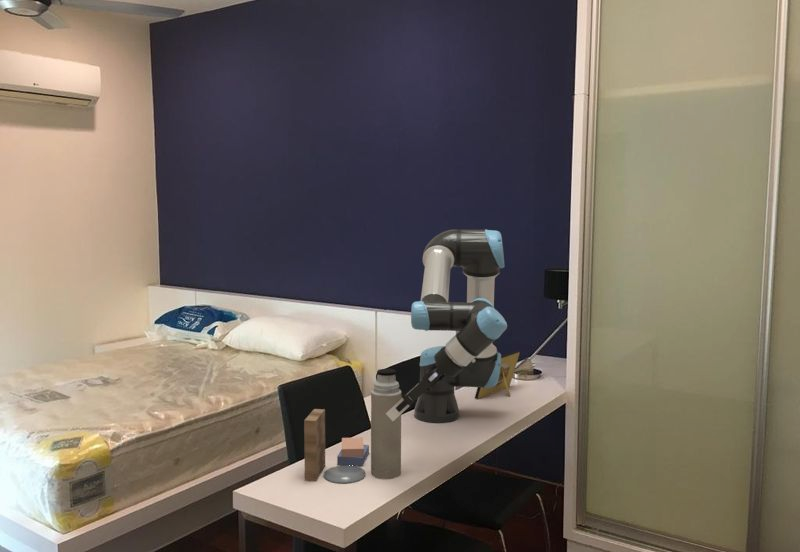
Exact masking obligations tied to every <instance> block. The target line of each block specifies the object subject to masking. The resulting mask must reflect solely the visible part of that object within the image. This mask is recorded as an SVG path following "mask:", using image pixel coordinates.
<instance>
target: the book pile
mask: <svg viewBox="0 0 800 552" xmlns="http://www.w3.org/2000/svg"><path fill="white" fill-rule="evenodd" d="M369 454H370V445H369V444H364V437H342V438H341V449H340V451H339V453H338V454H337V456H336V458H337V460H336V461H337V462H336V463H337V464H336V466H343V465H350V466H352V465H353V466H356V467H361V466H364V465H363V464H365V462H366V460H367V458H368V456H369Z"/></svg>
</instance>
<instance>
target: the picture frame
mask: <svg viewBox="0 0 800 552" xmlns="http://www.w3.org/2000/svg"><path fill="white" fill-rule="evenodd" d="M520 353H521V351H518V350H517V351H514V352H511V353H507V354H504V355H501V366H500V374H499V379H498V382H497V384H496V386H494V387H485V388H482V387H476V388H477V389H476V392H475V395H474V399H476V400H479V399H480V400H481V399H482V398H485V397H487V396H490V395H492V394H495V393H497V392H499V391H501V390H502V391H503V390H505V389H506V392H507V394H508V396H509V398H510V397H511V393H510V389H509V388H510V386H511V382H512V380H513V376H514V373H515V370H516V367H517V363H518V360H519V356H520Z"/></svg>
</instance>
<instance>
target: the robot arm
mask: <svg viewBox="0 0 800 552" xmlns="http://www.w3.org/2000/svg"><path fill="white" fill-rule="evenodd" d="M422 264H423V266H424V272H423V281H422V287H421V294H420V295H421V296H420V300H419V301H414V302H413V303H412V304H411V311H410V324H411V327H412V329H413V330H419V331H425V332H428V331H449V332H450V331H451V332H452V331H454V332H458V333H456V334H455V335H454V336H453V337H451V338H450V339H449V340H448V341H447V342H446V343H445V345H440V346H433V347H428V348H426V349H424V350H423V351H421V353H420V359H419V382H418V383H417V384H416V385H415V386H414V387H412V389H410V390H409V391H408V392H407V393H406V394H404V393H401V400H400V401H398V402H397V403H396V404H395V405H394V406H393V407H392V408H391V409H390V410H389V411H388V412H387V413H386V415H387V416H388V417H389V418H390V419H391V420H392V421H394V420H395V419H396V418H397V417H398V416H400V415H401V416H402V414H403V413H404V412H405V411H406V410H407V409H408V408H410V406H412V405H413V403H414V402H415V401H416V400H417V401H416V402H415V407H414V411H413V413H414V417H415V418H416V419H417V420H420V421H423V422H427V423H435V424H436V423H440V424H441V423H450V422H453V421H456V420H457V419H459V418H460V408H459V404H458V401H457V399H456V395H455V387H462V388H465V387H466V388H478V387H482V388H485V387H494V386H496V384H497V382H498V379H499V374H500V366H501V356H502V354H501V353H500V352H499V351H498V349H497V347H496V345H494V344H493V343H494V342H495V341H496V340H498V339H499V338H500V337H501V335H502V334H503V333H504V332H505V331H506V330H507V328H508V324H507V321H506V320H505V317H503V315H502V314H501V313H500V311H498V310H497V309H496V308H495V302H494V301H495V283H496V282H495V281H496V280H495V279H496V277H497V276H498V275H500V273H501V272H500V271H501V270H500V269H504V268H505V256H504V246H503V237H502V233H501V232H500V231H498V230H492V229H491V230H490V229H486V228H485V229H449V230H448V229H447V230H445V231H442V232H440V233H439V234H437V235H436V236H434V237H433V238H432V239H431V240H430V241H429V242H428V243H427V245H426V246H425V248H424V250H423V254H422ZM453 267H454V268H462V273H463V275H465V277H467V281H466V282H467V284H466V287H467V288H466V289H467V290H466V302H461V301H460V302H458V301H457V302H456V301H455V302H454V301H449V296H450V295H449V294H450V279H451V278H450V276H451V269H452V268H453Z"/></svg>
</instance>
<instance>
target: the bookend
mask: <svg viewBox="0 0 800 552" xmlns="http://www.w3.org/2000/svg"><path fill="white" fill-rule="evenodd" d="M303 421H304V422H303V423H304V424H303V432H304V435H303V436H304V440H303V441H304V445H303V446H304V450H303V451H304V481H305V482H317V480H318V479H319V477H320V476H321V474H322V472H323V471H324V469H326V409H325V408H323V409H321V408H314V409H312V411H311V412H310V413H309V414H308V416H307V417H305V419H304V420H303Z"/></svg>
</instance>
